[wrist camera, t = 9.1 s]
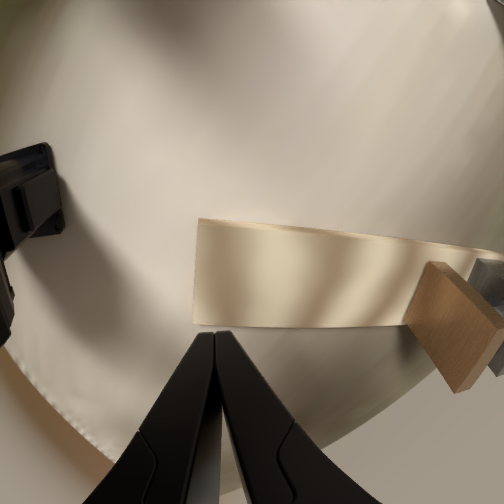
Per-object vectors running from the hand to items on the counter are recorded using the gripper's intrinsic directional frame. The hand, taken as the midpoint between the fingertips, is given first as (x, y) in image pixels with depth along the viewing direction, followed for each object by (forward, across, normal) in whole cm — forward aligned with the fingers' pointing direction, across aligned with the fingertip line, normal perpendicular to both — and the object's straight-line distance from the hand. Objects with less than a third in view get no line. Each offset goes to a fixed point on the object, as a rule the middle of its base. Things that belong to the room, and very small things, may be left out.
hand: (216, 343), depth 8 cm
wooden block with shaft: (+12, -22, +10) cm, 26 cm away
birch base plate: (+13, -13, +8) cm, 20 cm away
